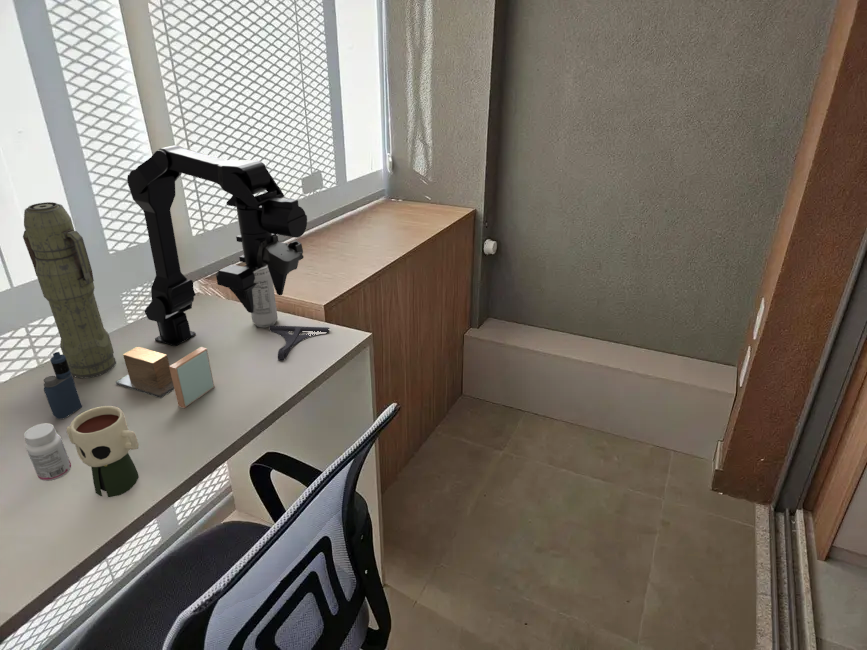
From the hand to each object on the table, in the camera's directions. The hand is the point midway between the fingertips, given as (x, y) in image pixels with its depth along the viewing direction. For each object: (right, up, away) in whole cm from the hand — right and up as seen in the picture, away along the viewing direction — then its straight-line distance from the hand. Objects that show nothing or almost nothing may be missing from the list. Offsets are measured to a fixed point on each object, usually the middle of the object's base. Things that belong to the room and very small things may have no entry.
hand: (265, 303), depth 116 cm
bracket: (+1, -10, +15) cm, 18 cm away
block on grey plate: (-23, -16, 0) cm, 29 cm away
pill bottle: (-28, -29, -23) cm, 46 cm away
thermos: (-38, -14, +5) cm, 41 cm away
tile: (-12, -19, -4) cm, 23 cm away
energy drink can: (-7, -4, +24) cm, 26 cm away
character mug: (-16, -30, -26) cm, 43 cm away
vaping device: (-35, -21, -9) cm, 41 cm away
